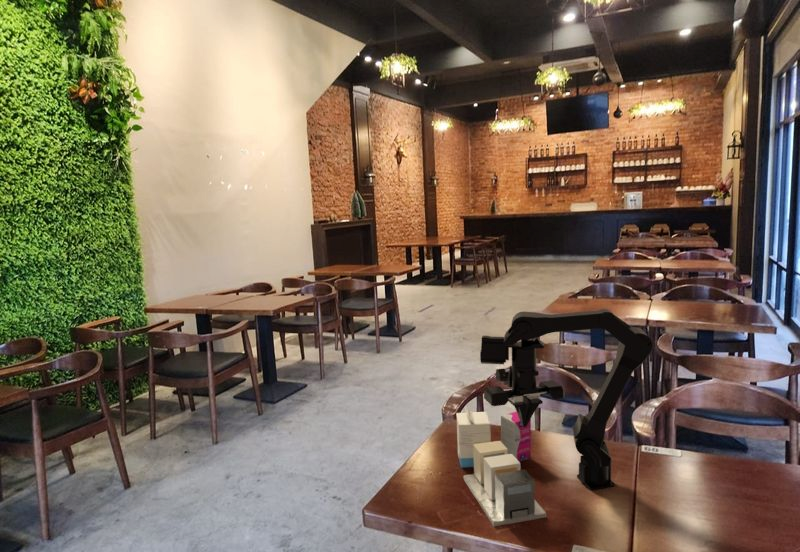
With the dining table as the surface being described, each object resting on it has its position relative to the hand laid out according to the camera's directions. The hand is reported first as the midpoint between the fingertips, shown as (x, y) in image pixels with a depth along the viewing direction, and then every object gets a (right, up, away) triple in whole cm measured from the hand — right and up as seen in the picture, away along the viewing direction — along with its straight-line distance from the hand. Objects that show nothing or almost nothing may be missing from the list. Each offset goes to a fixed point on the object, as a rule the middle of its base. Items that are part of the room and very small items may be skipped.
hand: (524, 426), depth 128 cm
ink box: (-10, -13, +12) cm, 20 cm away
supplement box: (+1, -12, +12) cm, 17 cm away
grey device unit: (-7, -14, -7) cm, 17 cm away
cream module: (-7, -13, -7) cm, 17 cm away
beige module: (-8, -12, 0) cm, 15 cm away
